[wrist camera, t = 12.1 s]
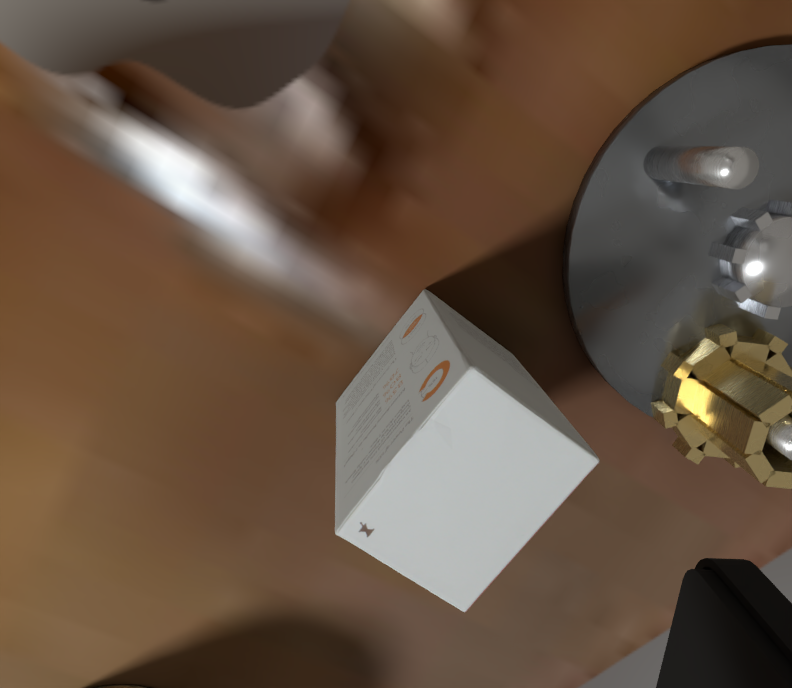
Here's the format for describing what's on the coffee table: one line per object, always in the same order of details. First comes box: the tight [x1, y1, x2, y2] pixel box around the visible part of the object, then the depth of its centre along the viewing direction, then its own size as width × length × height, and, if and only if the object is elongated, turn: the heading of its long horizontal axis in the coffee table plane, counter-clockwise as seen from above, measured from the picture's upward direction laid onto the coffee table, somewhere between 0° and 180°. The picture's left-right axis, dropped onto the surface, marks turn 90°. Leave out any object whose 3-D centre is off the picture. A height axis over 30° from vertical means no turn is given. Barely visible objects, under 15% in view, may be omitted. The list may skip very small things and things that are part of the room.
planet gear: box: [651, 324, 792, 489], centre depth 34 cm, size 7×8×6 cm
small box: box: [335, 289, 600, 612], centre depth 31 cm, size 8×6×13 cm
